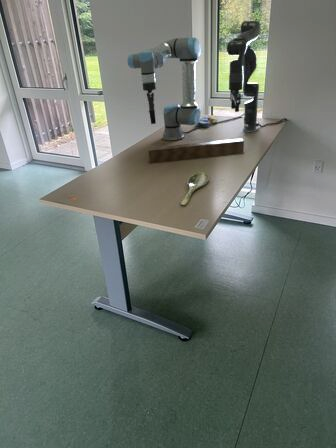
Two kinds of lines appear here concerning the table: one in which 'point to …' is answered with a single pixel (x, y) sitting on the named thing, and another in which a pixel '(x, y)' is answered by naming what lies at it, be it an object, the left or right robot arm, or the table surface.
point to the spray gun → (206, 121)
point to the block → (196, 150)
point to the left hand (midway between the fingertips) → (152, 120)
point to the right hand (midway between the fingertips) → (235, 110)
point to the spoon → (195, 184)
